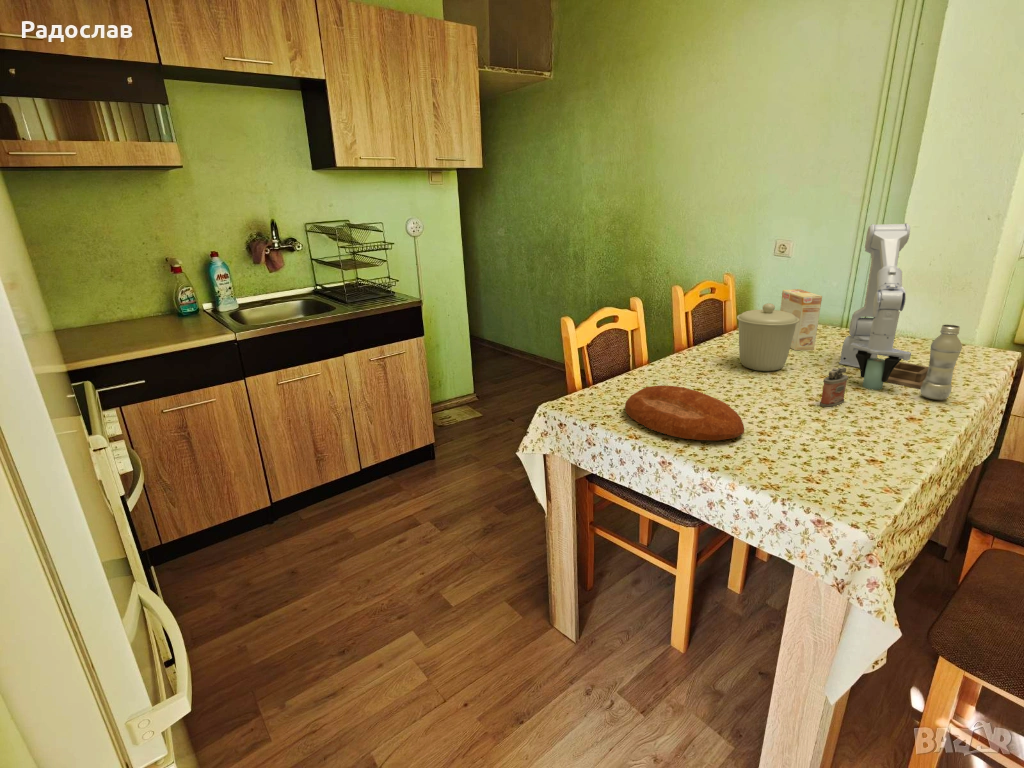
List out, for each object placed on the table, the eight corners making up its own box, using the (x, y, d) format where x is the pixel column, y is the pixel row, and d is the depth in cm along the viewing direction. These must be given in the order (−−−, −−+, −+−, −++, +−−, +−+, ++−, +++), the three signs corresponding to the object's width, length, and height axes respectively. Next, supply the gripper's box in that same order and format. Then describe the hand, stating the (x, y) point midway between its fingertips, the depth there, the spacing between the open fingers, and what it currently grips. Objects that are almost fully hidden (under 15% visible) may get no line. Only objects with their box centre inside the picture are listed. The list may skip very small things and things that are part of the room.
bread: (653, 396, 153) (654, 367, 150) (762, 426, 130) (766, 393, 127) (604, 419, 139) (604, 387, 136) (716, 457, 117) (719, 421, 114)
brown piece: (870, 378, 157) (872, 367, 156) (889, 368, 165) (891, 357, 164) (926, 390, 147) (929, 378, 145) (943, 378, 154) (946, 367, 153)
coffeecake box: (814, 350, 187) (823, 295, 180) (794, 350, 187) (802, 296, 181) (794, 339, 201) (801, 288, 194) (775, 340, 201) (781, 289, 195)
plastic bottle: (942, 394, 143) (960, 323, 136) (953, 403, 137) (972, 329, 130) (914, 393, 145) (930, 322, 138) (923, 401, 139) (941, 328, 132)
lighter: (828, 409, 138) (834, 373, 135) (816, 405, 141) (821, 369, 137) (847, 402, 141) (853, 367, 138) (834, 398, 144) (840, 364, 141)
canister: (731, 373, 168) (738, 308, 161) (732, 357, 184) (738, 297, 177) (794, 377, 161) (804, 310, 154) (789, 360, 177) (798, 298, 170)
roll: (859, 386, 152) (864, 360, 149) (866, 382, 154) (871, 356, 152) (878, 391, 148) (883, 364, 145) (885, 386, 151) (890, 360, 148)
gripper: (848, 331, 149) (840, 376, 154) (908, 340, 138) (897, 388, 143) (858, 326, 153) (850, 370, 158) (917, 335, 142) (907, 382, 146)
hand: (873, 378), depth 150 cm, fingers closed on roll, 5 cm apart
